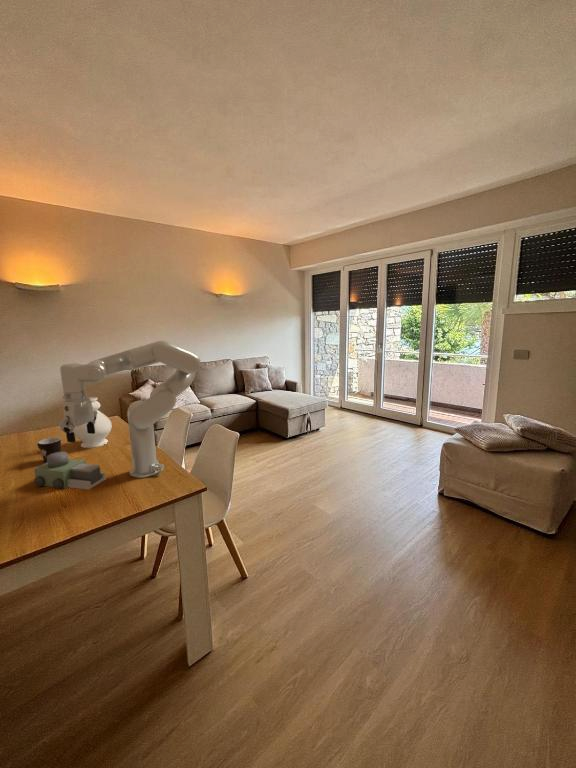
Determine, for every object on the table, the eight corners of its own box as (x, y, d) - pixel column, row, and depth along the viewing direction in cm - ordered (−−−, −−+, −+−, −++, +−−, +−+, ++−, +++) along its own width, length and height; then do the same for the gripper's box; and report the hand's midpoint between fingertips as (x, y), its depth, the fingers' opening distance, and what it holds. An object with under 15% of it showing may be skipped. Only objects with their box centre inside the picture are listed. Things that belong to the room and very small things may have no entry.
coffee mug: (66, 460, 156) (63, 440, 154) (44, 466, 149) (40, 445, 148) (59, 453, 163) (56, 434, 161) (37, 459, 157) (34, 439, 155)
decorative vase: (96, 451, 166) (90, 403, 162) (66, 448, 170) (60, 401, 165) (120, 438, 183) (116, 395, 179) (93, 436, 187) (88, 394, 182)
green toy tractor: (109, 476, 139) (107, 452, 137) (84, 492, 126) (80, 465, 124) (62, 471, 144) (59, 447, 142) (33, 486, 131) (29, 460, 129)
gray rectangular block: (101, 478, 135) (99, 465, 134) (91, 484, 130) (89, 470, 129) (82, 476, 137) (80, 463, 136) (72, 482, 132) (70, 468, 131)
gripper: (64, 401, 118) (71, 446, 121) (101, 391, 134) (106, 430, 138) (47, 400, 119) (54, 445, 123) (85, 390, 136) (91, 429, 139)
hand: (81, 437), depth 130 cm, fingers open, 9 cm apart
